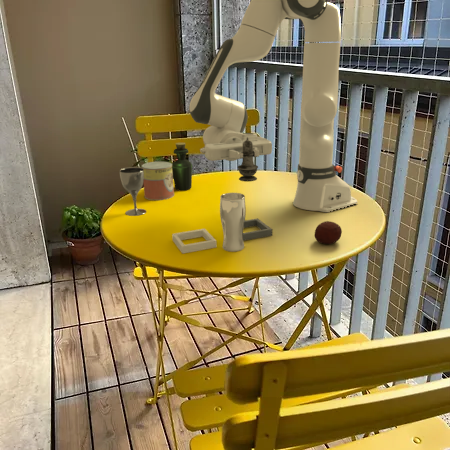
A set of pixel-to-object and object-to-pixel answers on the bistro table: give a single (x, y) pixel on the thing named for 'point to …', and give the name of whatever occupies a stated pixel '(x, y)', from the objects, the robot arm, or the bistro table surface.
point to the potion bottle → (182, 169)
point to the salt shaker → (247, 163)
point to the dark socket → (263, 232)
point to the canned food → (158, 180)
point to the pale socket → (194, 246)
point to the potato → (328, 232)
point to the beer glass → (233, 220)
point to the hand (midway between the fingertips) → (248, 155)
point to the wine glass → (133, 186)
